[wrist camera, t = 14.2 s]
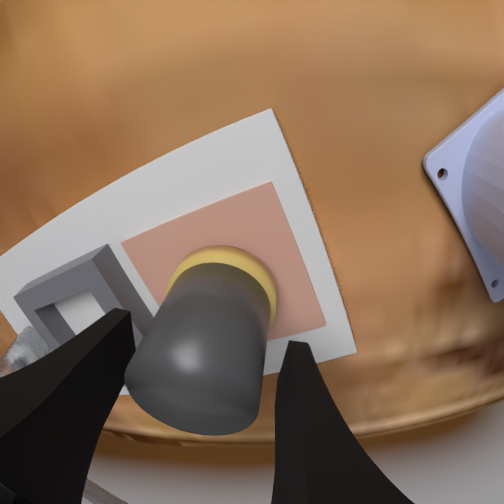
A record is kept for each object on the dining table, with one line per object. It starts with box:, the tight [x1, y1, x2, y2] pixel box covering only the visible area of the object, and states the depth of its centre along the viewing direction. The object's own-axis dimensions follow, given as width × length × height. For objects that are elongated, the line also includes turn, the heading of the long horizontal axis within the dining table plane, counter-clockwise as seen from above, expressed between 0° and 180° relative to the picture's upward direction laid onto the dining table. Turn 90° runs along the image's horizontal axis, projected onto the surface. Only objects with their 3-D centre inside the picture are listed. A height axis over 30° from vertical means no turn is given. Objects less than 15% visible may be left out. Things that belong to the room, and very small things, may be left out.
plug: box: [124, 245, 277, 435], centre depth 11 cm, size 4×4×6 cm
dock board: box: [0, 108, 357, 395], centre depth 15 cm, size 22×12×2 cm, turn 113°
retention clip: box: [0, 326, 128, 504], centre depth 16 cm, size 13×2×8 cm, turn 27°
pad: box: [121, 181, 326, 341], centre depth 14 cm, size 7×7×1 cm
